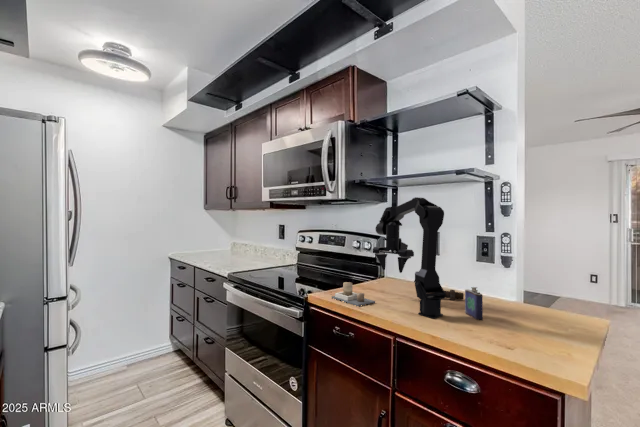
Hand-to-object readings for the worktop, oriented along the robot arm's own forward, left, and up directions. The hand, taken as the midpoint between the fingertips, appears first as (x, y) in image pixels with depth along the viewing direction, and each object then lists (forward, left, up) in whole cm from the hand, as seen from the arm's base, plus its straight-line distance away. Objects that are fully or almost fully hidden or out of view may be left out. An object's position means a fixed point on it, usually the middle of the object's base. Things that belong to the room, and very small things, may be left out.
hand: (392, 271), depth 137 cm
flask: (-34, -4, -12) cm, 36 cm away
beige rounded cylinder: (+10, +17, -11) cm, 23 cm away
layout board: (+7, +17, -12) cm, 22 cm away
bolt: (-14, -20, -12) cm, 27 cm away
